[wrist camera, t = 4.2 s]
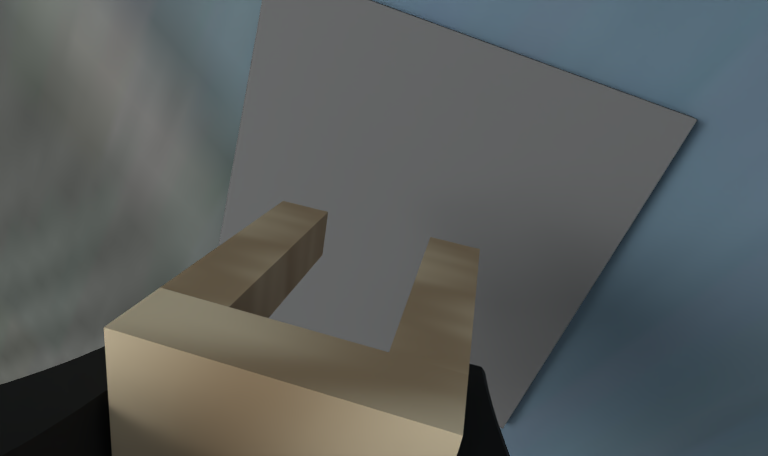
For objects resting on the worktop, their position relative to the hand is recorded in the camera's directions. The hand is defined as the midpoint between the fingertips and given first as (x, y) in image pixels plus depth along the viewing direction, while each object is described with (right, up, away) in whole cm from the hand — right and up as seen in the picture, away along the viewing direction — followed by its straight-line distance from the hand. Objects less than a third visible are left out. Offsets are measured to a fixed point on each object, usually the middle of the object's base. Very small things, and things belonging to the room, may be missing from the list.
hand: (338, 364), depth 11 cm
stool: (0, +1, +2) cm, 2 cm away
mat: (+2, +3, +7) cm, 8 cm away
